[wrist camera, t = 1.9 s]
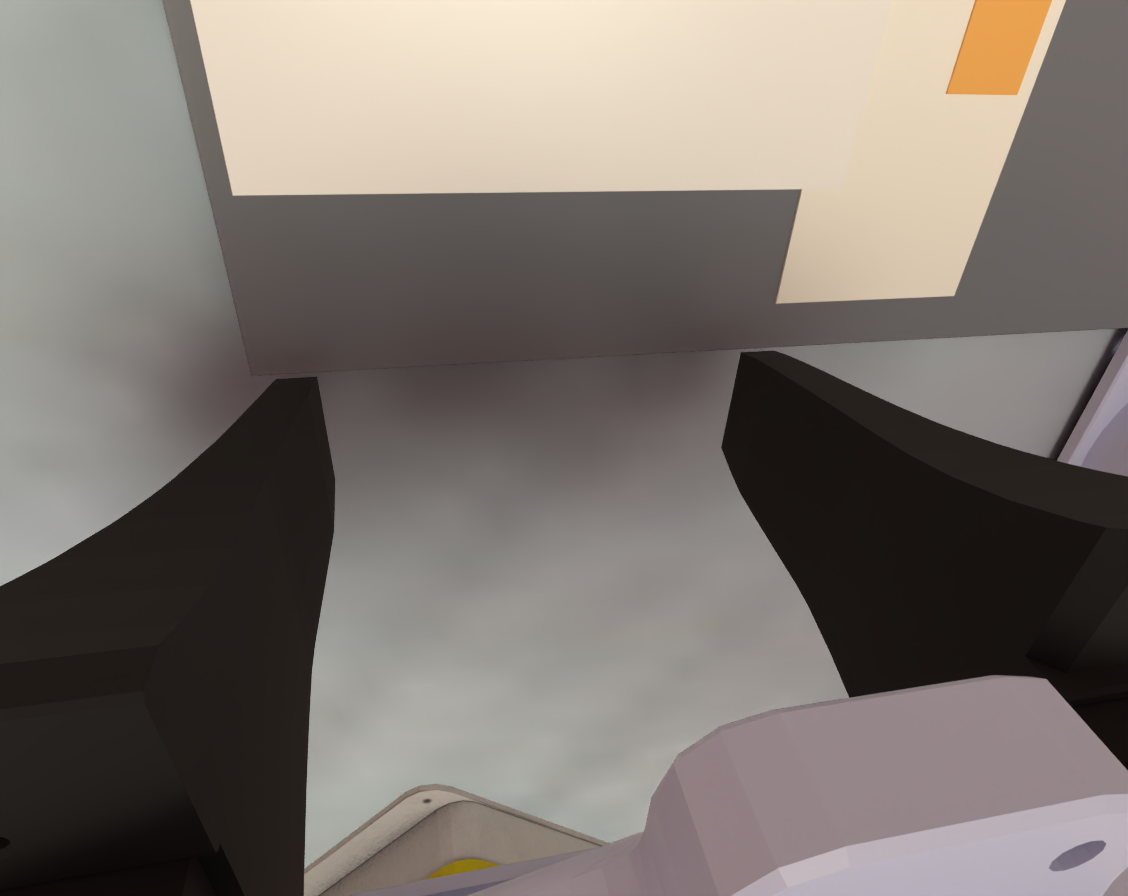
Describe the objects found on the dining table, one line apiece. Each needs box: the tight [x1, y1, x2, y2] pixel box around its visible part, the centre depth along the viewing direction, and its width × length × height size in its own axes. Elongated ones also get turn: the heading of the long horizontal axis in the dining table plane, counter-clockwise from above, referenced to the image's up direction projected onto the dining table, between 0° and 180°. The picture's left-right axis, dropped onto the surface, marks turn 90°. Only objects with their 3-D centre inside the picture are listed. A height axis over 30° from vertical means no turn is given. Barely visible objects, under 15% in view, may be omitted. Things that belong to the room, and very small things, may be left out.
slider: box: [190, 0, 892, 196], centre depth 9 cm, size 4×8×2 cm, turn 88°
